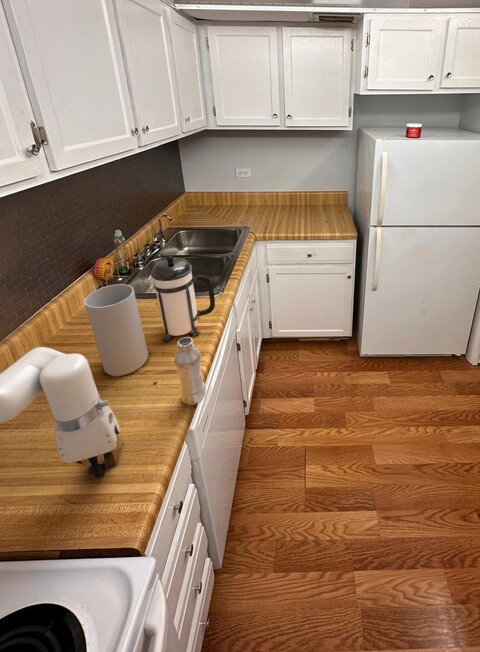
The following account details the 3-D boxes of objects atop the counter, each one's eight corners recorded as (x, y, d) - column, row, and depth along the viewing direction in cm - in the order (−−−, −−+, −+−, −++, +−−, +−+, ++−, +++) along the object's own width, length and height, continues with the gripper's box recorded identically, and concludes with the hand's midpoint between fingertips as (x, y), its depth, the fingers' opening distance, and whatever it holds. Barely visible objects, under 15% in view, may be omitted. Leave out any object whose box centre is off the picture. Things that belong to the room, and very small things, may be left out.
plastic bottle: (188, 388, 96) (178, 332, 89) (210, 390, 96) (202, 334, 88) (177, 407, 90) (165, 349, 83) (201, 409, 90) (191, 351, 82)
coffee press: (179, 350, 111) (165, 271, 100) (150, 333, 119) (134, 258, 108) (219, 323, 125) (210, 251, 114) (190, 309, 132) (180, 241, 122)
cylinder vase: (129, 344, 113) (113, 281, 104) (157, 354, 109) (143, 288, 100) (94, 370, 102) (73, 302, 93) (124, 382, 98) (105, 311, 89)
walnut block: (91, 472, 74) (85, 457, 73) (96, 452, 79) (91, 437, 77) (116, 465, 76) (111, 450, 74) (120, 445, 80) (116, 430, 79)
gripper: (124, 387, 72) (140, 445, 79) (42, 407, 68) (67, 467, 74) (117, 415, 66) (136, 476, 72) (26, 440, 61) (55, 502, 68)
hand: (101, 471), depth 73 cm, fingers closed
